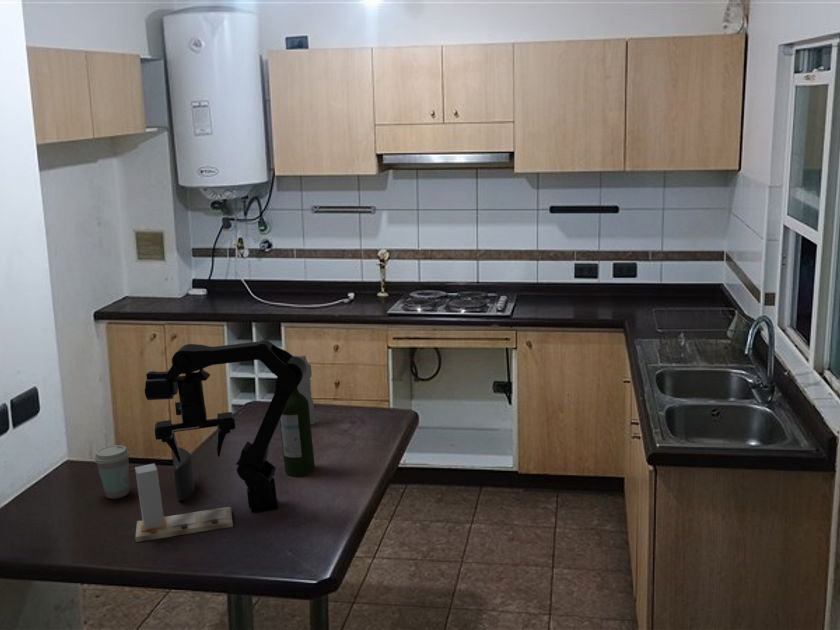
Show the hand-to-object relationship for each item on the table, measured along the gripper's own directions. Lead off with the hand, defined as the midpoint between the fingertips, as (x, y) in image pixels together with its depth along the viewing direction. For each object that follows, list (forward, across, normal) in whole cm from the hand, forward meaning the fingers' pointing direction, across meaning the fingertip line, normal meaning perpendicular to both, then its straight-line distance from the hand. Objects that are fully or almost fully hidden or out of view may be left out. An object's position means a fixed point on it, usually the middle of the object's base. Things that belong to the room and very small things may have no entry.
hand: (199, 458), depth 237 cm
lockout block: (+12, +12, +8) cm, 18 cm away
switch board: (+13, +5, +8) cm, 16 cm away
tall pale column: (+13, -29, -50) cm, 59 cm away
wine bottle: (+13, -25, -15) cm, 32 cm away
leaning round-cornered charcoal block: (+13, +6, -14) cm, 20 cm away
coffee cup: (+13, +22, -18) cm, 31 cm away
